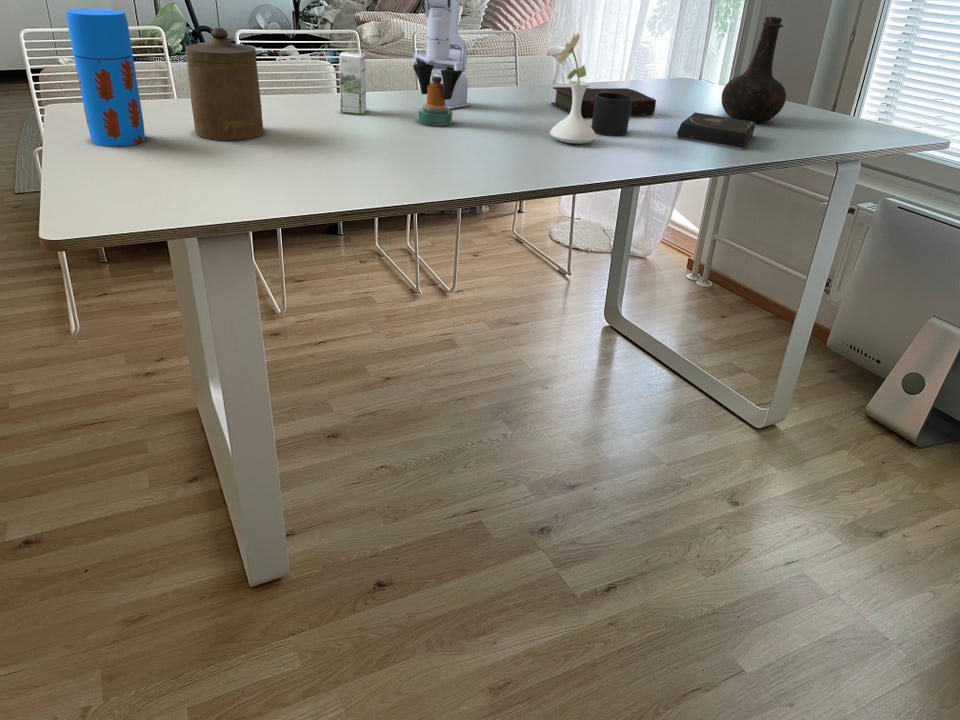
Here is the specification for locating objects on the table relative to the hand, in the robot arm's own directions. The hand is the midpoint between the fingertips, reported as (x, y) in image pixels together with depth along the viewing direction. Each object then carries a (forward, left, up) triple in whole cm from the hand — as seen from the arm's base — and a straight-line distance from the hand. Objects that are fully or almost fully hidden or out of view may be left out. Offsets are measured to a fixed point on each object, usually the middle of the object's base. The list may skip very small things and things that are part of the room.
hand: (436, 96), depth 188 cm
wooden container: (+47, -21, -7) cm, 52 cm away
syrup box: (+9, -21, -7) cm, 24 cm away
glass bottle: (-81, +52, -7) cm, 96 cm away
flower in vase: (-13, +33, -7) cm, 36 cm away
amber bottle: (0, 0, -2) cm, 2 cm away
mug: (-32, +34, -7) cm, 47 cm away
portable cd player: (-50, +55, -7) cm, 75 cm away
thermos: (+69, -29, -7) cm, 75 cm away
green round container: (0, 0, -6) cm, 6 cm away
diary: (-53, +18, -7) cm, 56 cm away
